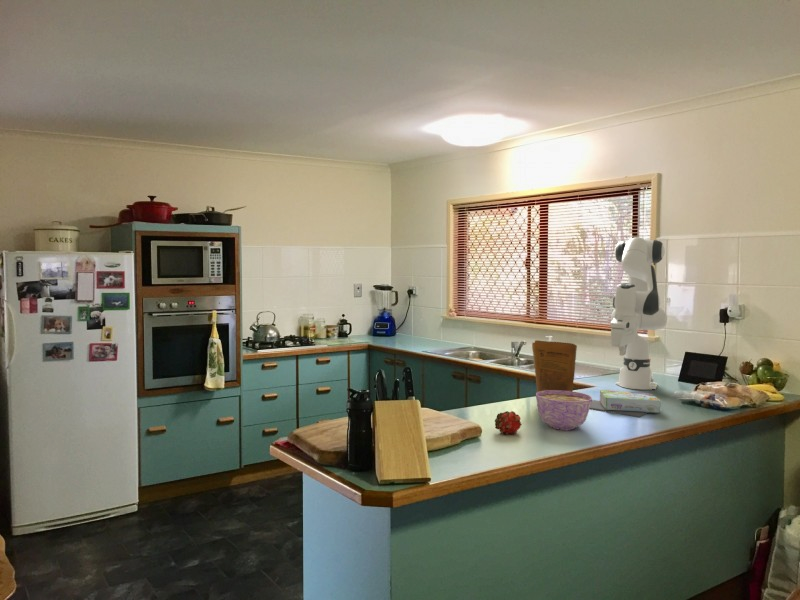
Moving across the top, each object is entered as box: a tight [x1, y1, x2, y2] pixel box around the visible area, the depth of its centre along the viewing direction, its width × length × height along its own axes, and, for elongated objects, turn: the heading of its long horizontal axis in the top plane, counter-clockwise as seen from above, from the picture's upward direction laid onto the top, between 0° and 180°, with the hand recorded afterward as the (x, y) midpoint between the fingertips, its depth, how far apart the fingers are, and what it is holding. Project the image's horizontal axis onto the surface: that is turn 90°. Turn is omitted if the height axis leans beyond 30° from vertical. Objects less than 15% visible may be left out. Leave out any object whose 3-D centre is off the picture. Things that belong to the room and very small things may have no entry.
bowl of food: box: [535, 390, 593, 431], centre depth 241 cm, size 20×20×12 cm
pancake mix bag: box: [531, 340, 578, 407], centre depth 268 cm, size 7×19×28 cm, turn 45°
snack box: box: [599, 390, 661, 414], centre depth 273 cm, size 21×6×15 cm
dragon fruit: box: [494, 411, 523, 435], centre depth 231 cm, size 8×8×12 cm
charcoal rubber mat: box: [589, 399, 649, 418], centre depth 274 cm, size 16×26×1 cm, turn 54°
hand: (622, 355), depth 280 cm, fingers closed
